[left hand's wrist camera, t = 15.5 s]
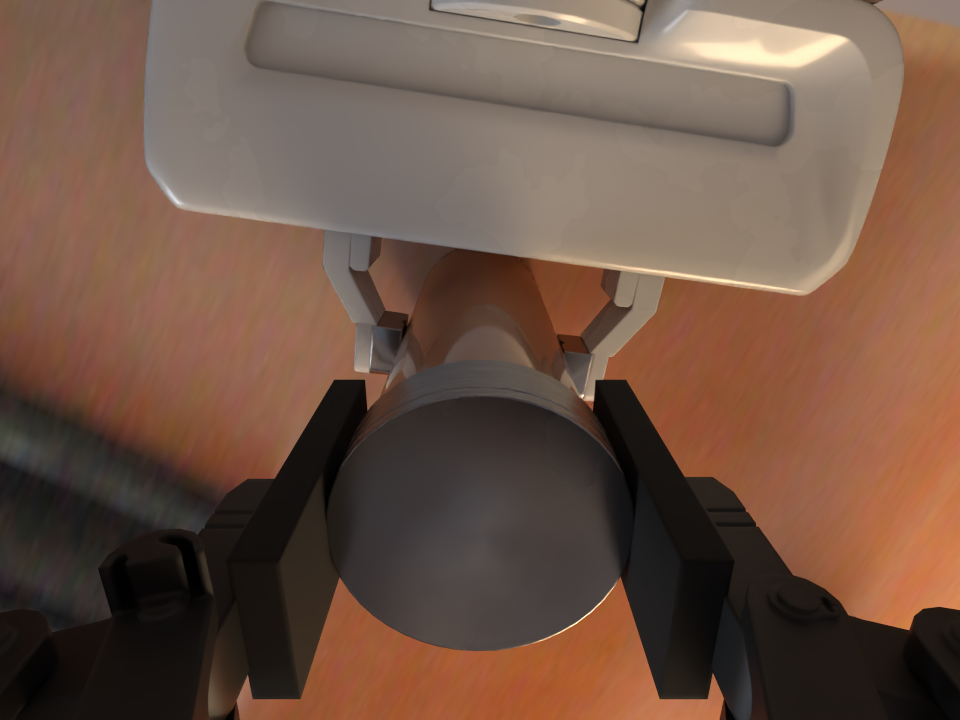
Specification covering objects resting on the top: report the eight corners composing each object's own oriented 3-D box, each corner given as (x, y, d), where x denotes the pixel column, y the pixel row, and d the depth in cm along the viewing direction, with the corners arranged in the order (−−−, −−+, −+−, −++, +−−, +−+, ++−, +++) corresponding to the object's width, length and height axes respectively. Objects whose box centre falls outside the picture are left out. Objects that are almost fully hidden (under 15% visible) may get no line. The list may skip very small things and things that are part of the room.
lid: (298, 411, 12) (269, 455, 10) (569, 318, 11) (585, 348, 9) (407, 617, 14) (398, 681, 12) (644, 549, 13) (667, 607, 11)
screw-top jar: (401, 269, 25) (294, 449, 11) (517, 226, 24) (571, 357, 10) (446, 375, 27) (406, 653, 12) (554, 338, 26) (647, 585, 12)
